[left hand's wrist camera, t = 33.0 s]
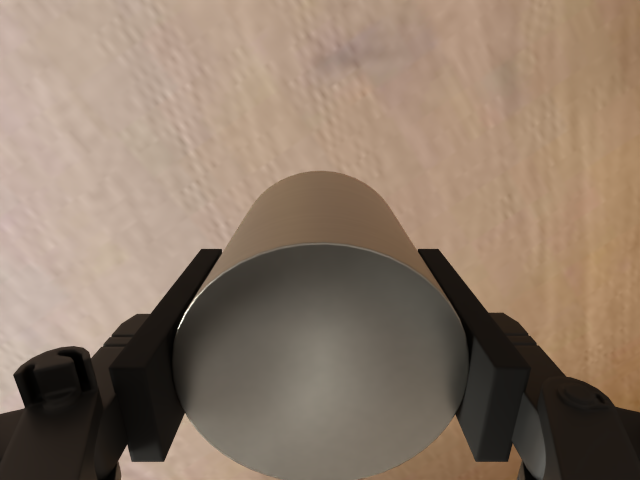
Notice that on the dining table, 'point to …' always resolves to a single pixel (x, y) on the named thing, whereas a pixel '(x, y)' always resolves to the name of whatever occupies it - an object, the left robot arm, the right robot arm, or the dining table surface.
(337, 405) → the can
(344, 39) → the dining table surface
